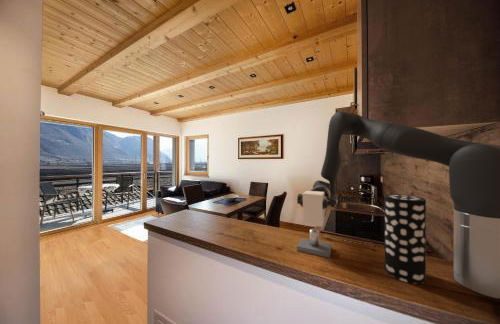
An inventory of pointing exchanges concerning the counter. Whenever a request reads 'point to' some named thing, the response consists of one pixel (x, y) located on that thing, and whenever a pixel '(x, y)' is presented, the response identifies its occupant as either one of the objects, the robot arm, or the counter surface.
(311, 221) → the block
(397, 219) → the white-spotted black cylinder
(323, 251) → the base plate
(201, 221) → the counter surface
